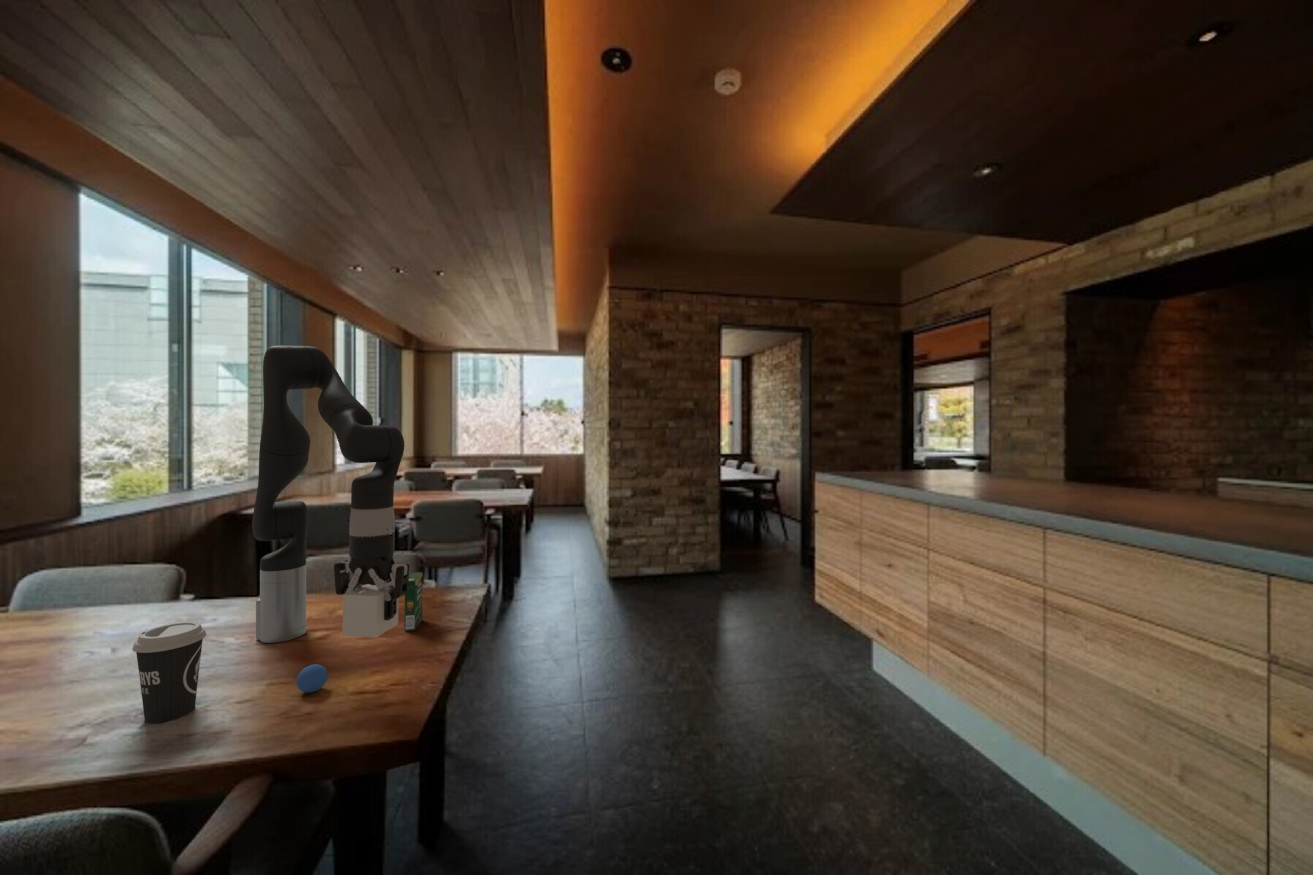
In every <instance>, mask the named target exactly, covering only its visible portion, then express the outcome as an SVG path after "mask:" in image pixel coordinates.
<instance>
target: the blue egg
mask: <svg viewBox="0 0 1313 875" xmlns="http://www.w3.org/2000/svg"><path fill="white" fill-rule="evenodd" d="M328 673H329V672H328V670H327V668H326V667H325V666H324V665H321V664H319V663H314V664H311V665H308V666H307V665H306V667H304V668H302V669H301V671H300V672H299V673H298V675H297V678H296V686H297V688H298V689H299V690H300V691H302V692H303V693H314V692H317V691H319V690H320V689H321V688H323V686H325V684H326V682H327V681H328Z"/></svg>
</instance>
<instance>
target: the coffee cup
mask: <svg viewBox="0 0 1313 875" xmlns="http://www.w3.org/2000/svg"><path fill="white" fill-rule="evenodd" d="M206 636H207V632H206V630H205V628H204V627H202V625H201V623H200V622H199V621H179V622H173V623H168V624H162V625H158V626H155V627H152V628H149V629H146V630H144V631H142V632H141V633H140V634H139V635H138V637H137V639H136V640H135V642H134V643H133V646H132V648H131V650H132V652H135V654H136V658H137V659H136V660H137V667H138V676H139V683H140V692H141V700H142V709H143V717H144V722H145V723H147V724H160V723H166V722H169V721H173V720H176V719H180V718H182V717H185V716H186V715H188V714H190V713H191V712H192V711H194V709H195V708H196V701H197V692H198V684H199V674H200V673H199V672H200V668H201V667H200V665H201V658H202V657H201V656H202V646H203V642H204V641H203V640H204V638H205V637H206Z"/></svg>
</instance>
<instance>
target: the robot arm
mask: <svg viewBox="0 0 1313 875" xmlns="http://www.w3.org/2000/svg"><path fill="white" fill-rule="evenodd" d="M262 385H263V386H262V389H263V391H262V392H263V393H262V394H263V395H262V396H263V410H262V411H263V412H262V426H261V434H260V442H259V454H258V481H257V490H256V496H255V501H254V508H253V513H252V521H251V528H252V530H251V531H252V535H253V537H254V538H255V540H257V541H260V542H271V541H279V540H287V539H289V541H288V542H287V543H286V544H284V545H283V547H280V548H279V549H277V550H274V551H272V552H270V553H267V554H266V555H264V556H262V557H261V558H260V561H259V598H258V599H257V600H256V601H255V640H259V641H260V642H261V643H267V644H268V643H269V644H273V643H274V644H275V643H281V642H286V641H291V640H294V639H296V638H299V637H301V636H303V635H305V634H306V632H307V538H308V537H307V536H308V526H309V525H308V524H309V523H308V520H309V514H308V506H307V505H306V503H305V502H304V501H301V500H293V501H292V500H291V501H290V500H289V501H279V502H278V501H277V498H278V497H279V496H280V495H281V493H282V491H284V489H285V488H286V487H287V486H289V485H290V484H291V483H292V482H293V481H294V480H295V479H297V477H298V476H299V475H300V474H301V473H303V471H304V469H305V468H307V465H308V462H309V455H310V448H311V438H310V434H309V432H308V431H307V429H306V427H305V426H304V425H303V423H302V422H301V421H300V419H298V418H297V417H296V415H295V413H293V411H292V410H291V408H290V406H289V404H288V400H287V399H288V397H287V394H288V392H289V391H290V390H307V389H315V388H316V389H320V390H321V392H320V395H319V398H318V400H317V409H318V413H319V415H320V416H321V418H322V419H323V421H324V422H325V424H327V425H328V426H329V427H330V428H331V430H332V431H333V432H334V434H335V437H336V439H337V442H338V445H339V450H340V452H341V455H342V456H343V457H344V458H345V459H346V460H347V461H349V462H352V463H357V464H369V463H370V464H371V463H375V464H374V466H373V469H372V470H371V471H370V472H368V473H365V474H362V475H360V476H357V477H355V478H354V479H353V480H352V481H351V482H352V483H351V491H350V493H351V494H350V495H351V499H350V503H351V504H350V514H349V515H350V516H349V525H348V528H349V530H348V531H349V533H348V534H349V536H348V539H349V540H348V541H349V542H348V556H349V558H350V560H348V559H347V560H346V559H345V560H341V561H339V562H337V563H334V565H333V570H334V587H335V588H334V589H335V590H334V591H335V594H336V595H337V596H339V595H341V596H343V594H345V593H347V592H350V591H354V590H355V589H356V588H361V587H362V586H363V585H366V584H370V585H375V586H377V588H378V590H379V591H381V592H382V593H384V598H385V600H386V601H384V620H390V619H392V618H393V617H394V615H396V613H397V598H399V599H400V598H401V597H402V596H405V594H407V592H408V581H409V576H410V568H411V566H410V564H409V563H407V562H406V563H404V564H400V563H396V562H395V560H394V554H395V540H396V538H395V537H396V536H395V534H396V529H395V528H396V526H395V525H396V518H395V516H396V515H395V509H394V493H395V492H394V491H395V489H394V487H395V481H396V479H397V476H398V471H399V468H400V466H401V462H402V459H403V456H404V452H405V438H404V436H403V434H402V432H401V431H400V430H399V428H397V427H396V426H392V425H374V419H373V416H372V414H371V412H369V410H367V408H365V406H364V405H363V404H362V403H361V402H360V401H359V400H358V399H357V398H355V396H354V395H353V394H352V393H351V392H350V391H349V389H348V387H347V386H346V384H345V383H344V381H343V379H342V376H340V374H339V371H337V370H336V367H335V366H334V364H333V363H332V362H331V360H330V358H329V357H328V355H327V354H326V353H325V352H324V351H323V350H322V349H321V348H319V347H317V346H312V345H311V346H310V345H272V346H269V347H268V348H267V349H266V350H265V352H264V356H263V361H262ZM350 572H351V573H352V575H353V576H352V578H351V577H350V576H351V574H350ZM392 572H393V575H392ZM394 577H395V578H394ZM385 582H386V583H385ZM389 589H391V593H390V591H389Z"/></svg>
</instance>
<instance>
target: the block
mask: <svg viewBox="0 0 1313 875" xmlns="http://www.w3.org/2000/svg"><path fill="white" fill-rule="evenodd" d="M389 591H390V593H391V589H389ZM399 599H400V597H399V598H397V613H396V615H394V617H393V618H392V619H390V620H384V601H386V600H385V598H384V593H382V592H381V591H379V590H378V588H377V586H375V585H370V584H366V585H363V586H362V587H361V588H356V589H355V590H354V591H350V592H347V593H345V594H343V595H342V636H344V637H345V636H346V637H361V638H375V639H377V638H378V637H379V636H381V635H383V634H385V633H386V632H388V631H389V630H391V629H392V628H394V627H396V626H397V625H399V601H400V600H399Z"/></svg>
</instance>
